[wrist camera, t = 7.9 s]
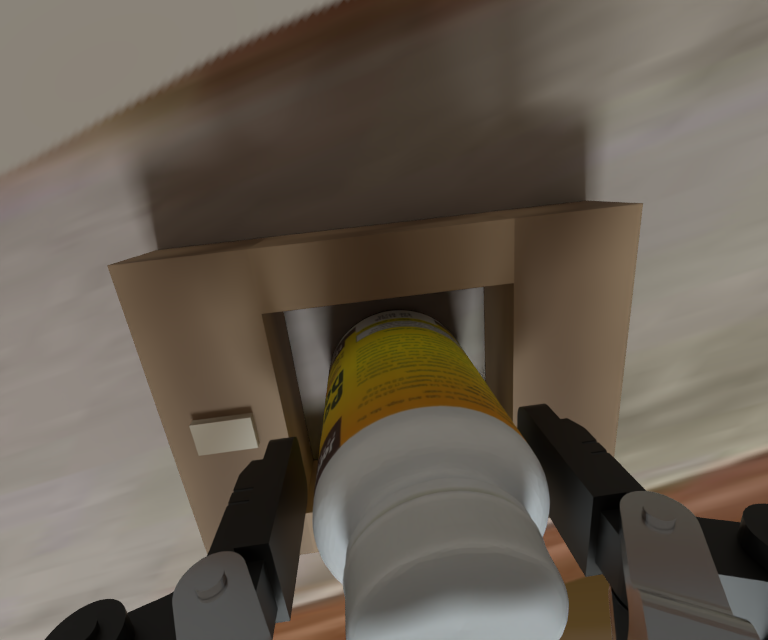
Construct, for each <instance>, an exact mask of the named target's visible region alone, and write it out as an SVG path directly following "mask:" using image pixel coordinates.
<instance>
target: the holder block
mask: <svg viewBox="0 0 768 640" xmlns="http://www.w3.org/2000/svg"><path fill="white" fill-rule="evenodd" d="M642 207H643V203H622V202H602V201H580V202H571V203H562V204H553V205H545V206H536V207H527V208H519V209H510V210H501V211H493V212H484V213H475V214H466V215H458V216H449V217H440V218H432V219H423V220H414V221H406V222H397V223H388V224H379V225H371V226H362V227H353V228H345V229H336V230H327V231H318V232H310V233H301V234H292V235H284V236H275V237H266V238H258V239H249V240H240V241H231V242H223V243H214V244H205V245H197V246H188V247H179V248H171V249H162V250H156V251H153V252H149V253H146V254H143V255H140V256H137V257H133V258H130V259H127V260H124V261H120V262H117V263H114V264H111V265H108V269H109V272H110V275H111V278H112V280H113V283H114V286H115V289H116V292H117V295H118V298H119V301H120V303H121V306H122V309H123V312H124V315H125V318H126V321H127V324H128V327H129V329H130V332H131V335H132V338H133V341H134V344H135V347H136V350H137V352H138V355H139V358H140V361H141V364H142V367H143V370H144V373H145V376H146V378H147V381H148V384H149V387H150V390H151V393H152V396H153V399H154V401H155V404H156V407H157V410H158V413H159V416H160V419H161V422H162V425H163V427H164V430H165V433H166V436H167V439H168V442H169V445H170V448H171V450H172V453H173V456H174V459H175V462H176V465H177V468H178V471H179V473H180V476H181V479H182V482H183V485H184V488H185V491H186V494H187V497H188V499H189V502H190V505H191V508H192V511H193V514H194V517H195V520H196V522H197V525H198V528H199V531H200V534H201V537H202V540H203V543H204V546H205V548H206V551H207V554H208V552H209V550H210V547H211V545H212V542H213V540H214V537H215V535H216V532H217V529H218V527H219V524H220V522H221V519H222V517H223V514H224V512H225V509H226V507H227V506H228V502H229V499H230V497H231V494H232V493H233V489H234V487H235V484H236V482H237V479H238V477H239V474H240V473H241V472H242V471H243V470H244V469H245V468H246V467H247V466H248V464H249V463H250V462H251V461H253V460H260V459H263V458H264V455H265V452H266V449H267V446H268V443H269V441H270V440H273V439H281V438H288V437H297V439H298V442H299V446H300V451H301V456H302V460H303V465H304V470H305V474H306V479H307V488H308V500H307V508H306V515H305V522H304V528H303V535H302V542H301V549H300V555H301V554H308V553H315V552H319V550H318V548H317V545H316V542H315V538H314V532H313V521H312V518H313V500H314V490H315V483H316V474H317V466H318V460H314V461H313V457H312V452H311V447H310V442H309V437H308V432H307V427H306V422H305V417H304V412H303V407H302V402H301V397H300V392H299V387H298V382H297V377H296V373H295V368H294V363H293V358H292V353H291V348H290V343H289V338H288V333H287V328H286V323H285V318H284V313H283V311H289V310H298V309H306V308H314V307H322V306H330V305H338V304H347V303H355V302H363V301H371V300H379V299H387V298H395V297H404V296H412V295H420V294H428V293H436V292H444V291H452V290H461V289H469V288H477V287H484V316H485V369H486V384H487V385H488V387H489V388H490V390H491V391H492V393H493V394H494V395H495V397H496V398H497V400H498V401H499V403H500V404H501V406H502V407H503V409H504V410H505V411H506V413H507V414H508V416H509V417H510V419H511V420H512V422H513V423H514V424H515V426H516V427H517V412H518V408H519V407H522V406H529V405H536V404H544V403H545V404H547V405H548V406H549V407H550V408H551V409H552V410H553V411H554V412H555V414H556V415H557V416H558V417H559V418H560V419H564V418H568V419H570V420H572V421H574V422H575V423H577V424H579V425H581V426H583V427H584V428H586V430H587V431H588V432H589V433H590V434H591V435H592V436H593V437H594V438H595V439H596V440H597V443H598V442H599V443H600V444H601V445H602V446H603V447H604V448H605V449H606V450H607V453H610V454H611V455H612V456H613V457H614V453H615V444H616V435H617V427H618V418H619V409H620V400H621V391H622V383H623V374H624V365H625V356H626V348H627V339H628V330H629V321H630V313H631V304H632V295H633V286H634V277H635V269H636V260H637V251H638V242H639V234H640V225H641V216H642ZM548 518H550V517H549V516H548Z"/></svg>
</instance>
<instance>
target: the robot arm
mask: <svg viewBox="0 0 768 640" xmlns="http://www.w3.org/2000/svg"><path fill="white" fill-rule="evenodd" d="M517 429H518V430H519V432H520V433H521V434H522V436H523V437H524V439H525V440H526V442H527V443H528V445H529V446H530V447H531V449H532V451H533V452H534V454H535V455H536V457H537V459H538V460H539V462H540V464H541V466H542V469H543V471H544V473H545V476H546V481H547V484H548V490H549V497H550V509H549V517H550V518H551V520H552V522H553V523H554V525H555V527H556V528H557V530H558V532H559V533H560V535H561V537H562V538H563V540H564V542H565V543H566V545H567V547H568V548H569V550H570V551H571V553H572V555H573V556H574V558H575V560H576V561H577V563H578V565H579V566H580V568H581V570H582V571H583V573H584V575H585V576H586V577H587V576H593V575H600V574H603V575H604V576H605V578H606V580H607V581H608V583H609V584H610V585H609V608H610V619H611V629H612V640H768V504H754V505H751V506H748V507H747V508H745V510H744V512H743V515H742V519H741V522H733V521H724V520H716V519H707V518H700V517H695V516H694V514H693V513H692V512H691V511H690V510H689V509H687V508H686V507H685V506H684V505H682V504H681V503H679V502H677V501H676V500H674V499H672V498H669V497H667V496H665V495H662V494H659V493H655V492H649V491H646V490H645V489H644V488H643V487H642V486H641V485H640V484H639V483H638V482H637V481H636V480H635V479H634V478H633V477H632V476H631V475H630V474H629V473H628V472H627V471H626V470H625V469H624V468H623V467H622V466H621V464H620V463H619V462H618V461H617V460H616V459H615V458H614V457H613V456H612V455H611V454H610V453H607V450H606V449H605V448H604V447H603V446H602V445H601V444H600V443H599V442H598V443H597V440H596V439H595V438H594V437H593V436H592V435H591V434H590V433H589V432H588V431H587V430H586V428H584V427H583V426H581V425H579V424H577V423H575V422H574V421H572V420H570V419H568V418H564V419H560V418H559V417H558V416H557V415H556V414H555V412H554V411H553V410H552V409H551V408H550V407H549V406H548V405H547V404H545V403H544V404H536V405H529V406H522V407H519V408H518V412H517ZM307 500H308V488H307V479H306V474H305V470H304V465H303V460H302V456H301V451H300V446H299V442H298V439H297V437H288V438H281V439H273V440H270V441H269V443H268V446H267V449H266V452H265V455H264V458H263V459H260V460H253V461H251V462H250V463H249V464H248V466H247V467H246V468H245V469H244V470H243V471H242V472H241V473H240V474H239V477H238V479H237V482H236V484H235V487H234V489H233V493H232V494H231V497H230V499H229V502H228V506H227V507H226V509H225V512H224V514H223V517H222V519H221V522H220V524H219V527H218V529H217V532H216V535H215V537H214V540H213V542H212V545H211V547H210V550H209V552H208V555H207V557H205V558H203V559H201V560H200V561H198V562H197V563H196V564H194V565H193V566H192V567H191V568H190V569H189V570H188V571H187V572H186V573H185V574H184V575H183V576H182V578H181V579H180V580H179V582H178V584H177V586H176V588H175V590H174V592H172V593H171V594H169V595H167V596H165V597H163V598H160V599H158V600H156V601H153V602H151V603H149V604H147V605H144V606H142V607H140V608H137V609H135V610H133V611H131V612H128V613H127V611H126V609H125V607H124V605H123V604H122V603H121V602H119V601H118V600H114V599H104V600H99V601H96V602H93V603H91V604H88V605H86V606H84V607H82V608H80V609H79V610H77V611H76V612H74V613H73V614H71V615H70V616H68V617H67V618H66V619H65V620H63V621H62V622H61V623H60V624H59V625H58V626H57V627H56V628H55V629H54V630H53V631H52V632H51V633H50V634H49V635H48V636H47V638H46V639H45V640H272V639H273V633H274V628H275V623H279V622H285V621H290V618H291V611H292V604H293V597H294V590H295V583H296V577H297V570H298V563H299V556H300V549H301V542H302V535H303V528H304V522H305V515H306V508H307Z"/></svg>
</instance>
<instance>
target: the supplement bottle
mask: <svg viewBox="0 0 768 640" xmlns="http://www.w3.org/2000/svg"><path fill="white" fill-rule="evenodd" d="M549 509H550V497H549V490H548V484H547V481H546V476H545V473H544V471H543V469H542V466H541V464H540V462H539V460H538V459H537V457H536V455H535V454H534V452H533V451H532V449H531V447H530V446H529V445H528V443H527V442H526V440H525V439H524V437H523V436H522V434H521V433H520V432H519V430H518V429H517V427H516V426H515V424H514V423H513V422H512V420H511V419H510V417H509V416H508V414H507V413H506V411H505V410H504V409H503V407H502V406H501V404H500V403H499V401H498V400H497V398H496V397H495V395H494V394H493V393H492V391H491V390H490V388H489V387H488V385H487V384H486V382H485V381H484V379H483V378H482V377H481V375H480V374H479V372H478V371H477V369H476V368H475V367H474V365H473V364H472V362H471V361H470V359H469V358H468V356H467V355H466V353H465V352H464V351H463V349H462V348H461V346H460V345H459V343H458V342H457V340H456V339H455V338H454V336H453V335H452V334H451V333H450V332H449V331H448V329H446V328H445V327H444V326H443V325H442V324H441V323H439V322H438V321H436V320H435V319H433V318H431V317H429V316H427V315H424V314H421V313H418V312H413V311H406V310H393V311H386V312H382V313H378V314H375V315H372V316H370V317H368V318H366V319H364V320H362V321H361V322H359V323H358V324H356V325H355V326H354V327H353V328H351V329H350V330H349V331H348V332H347V333H346V334H345V336H344V337H343V338H342V339H341V341H340V342H339V344H338V346H337V348H336V350H335V352H334V354H333V357H332V361H331V365H330V370H329V377H328V385H327V394H326V401H325V410H324V418H323V426H322V434H321V442H320V450H319V459H318V466H317V474H316V483H315V490H314V500H313V518H312V521H313V532H314V538H315V542H316V545H317V548H318V550H319V553H320V555H321V557H322V559H323V561H324V563H325V565H326V566H327V567H328V569H329V570H330V572H331V573H332V574H333V575H334V577H335V578H336V579H337V580H338V581H339V582H340V583H341V584H342V585H343V589H344V595H345V616H346V640H559V639H560V638H561V636H562V634H563V631H564V629H565V625H566V623H567V618H568V606H569V601H568V596H567V591H566V587H565V584H564V582H563V580H562V577H561V575H560V573H559V571H558V569H557V568H556V566H555V564H554V562H553V560H552V558H551V557H550V555H549V553H548V551H547V549H546V547H545V543H544V540H543V535H544V532H545V529H546V526H547V521H548V516H549Z"/></svg>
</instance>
